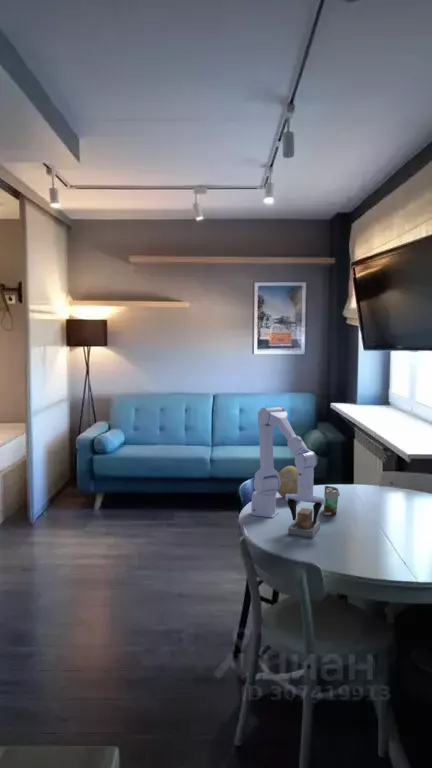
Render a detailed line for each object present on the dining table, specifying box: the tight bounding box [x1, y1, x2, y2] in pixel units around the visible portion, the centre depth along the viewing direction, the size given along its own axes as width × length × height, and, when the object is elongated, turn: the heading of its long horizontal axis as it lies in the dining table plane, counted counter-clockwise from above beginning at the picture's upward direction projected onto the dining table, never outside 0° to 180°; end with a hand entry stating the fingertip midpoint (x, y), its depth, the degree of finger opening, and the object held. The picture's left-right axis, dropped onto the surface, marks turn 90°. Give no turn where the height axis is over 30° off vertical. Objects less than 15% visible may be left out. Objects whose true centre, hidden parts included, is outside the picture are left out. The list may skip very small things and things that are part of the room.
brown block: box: [296, 507, 313, 530], centre depth 211 cm, size 4×7×7 cm, turn 158°
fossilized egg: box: [277, 465, 298, 499], centre depth 253 cm, size 13×13×15 cm
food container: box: [323, 485, 341, 518], centre depth 233 cm, size 12×6×10 cm, turn 168°
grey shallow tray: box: [287, 518, 321, 539], centre depth 211 cm, size 9×12×2 cm
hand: (304, 521), depth 211 cm, fingers open, 7 cm apart
